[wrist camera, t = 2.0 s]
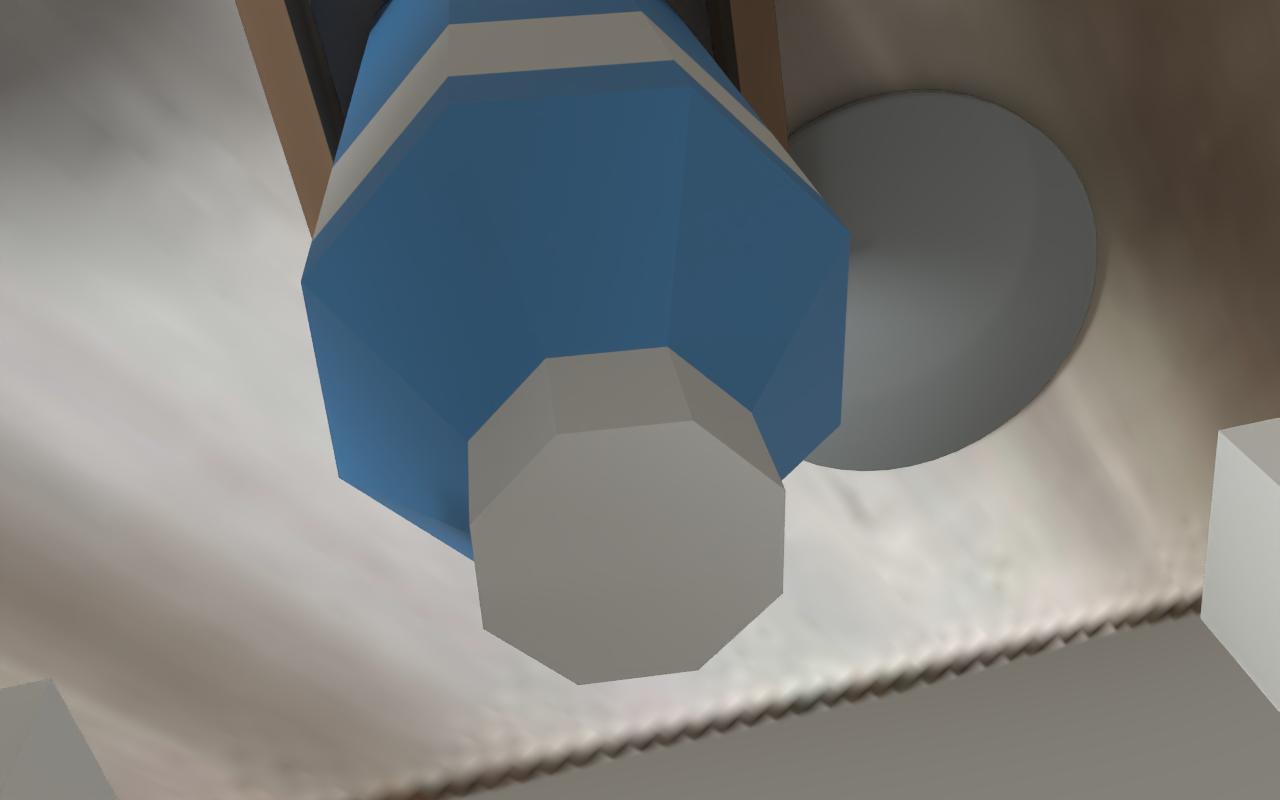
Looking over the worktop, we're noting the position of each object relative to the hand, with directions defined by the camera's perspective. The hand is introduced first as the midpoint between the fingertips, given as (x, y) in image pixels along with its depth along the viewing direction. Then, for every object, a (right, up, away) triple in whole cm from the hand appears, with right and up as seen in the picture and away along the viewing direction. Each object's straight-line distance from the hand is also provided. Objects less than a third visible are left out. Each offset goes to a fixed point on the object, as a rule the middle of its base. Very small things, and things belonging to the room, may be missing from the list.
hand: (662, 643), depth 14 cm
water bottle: (-4, +13, +23) cm, 27 cm away
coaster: (+9, +7, +28) cm, 30 cm away
